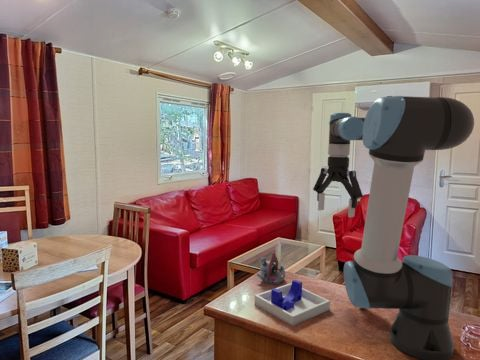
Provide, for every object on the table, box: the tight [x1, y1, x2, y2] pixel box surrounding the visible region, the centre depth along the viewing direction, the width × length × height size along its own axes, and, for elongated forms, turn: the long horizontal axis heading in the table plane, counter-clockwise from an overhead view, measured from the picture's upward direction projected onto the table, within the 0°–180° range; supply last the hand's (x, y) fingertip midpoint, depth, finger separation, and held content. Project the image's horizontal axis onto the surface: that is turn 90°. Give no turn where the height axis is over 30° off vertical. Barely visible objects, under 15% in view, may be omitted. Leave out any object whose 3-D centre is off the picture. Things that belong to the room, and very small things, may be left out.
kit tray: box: [254, 282, 331, 327], centre depth 114 cm, size 17×17×3 cm
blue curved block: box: [270, 279, 303, 311], centre depth 114 cm, size 12×4×6 cm, turn 134°
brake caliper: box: [256, 252, 286, 285], centre depth 135 cm, size 11×11×12 cm
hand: (335, 213), depth 131 cm, fingers open, 13 cm apart
